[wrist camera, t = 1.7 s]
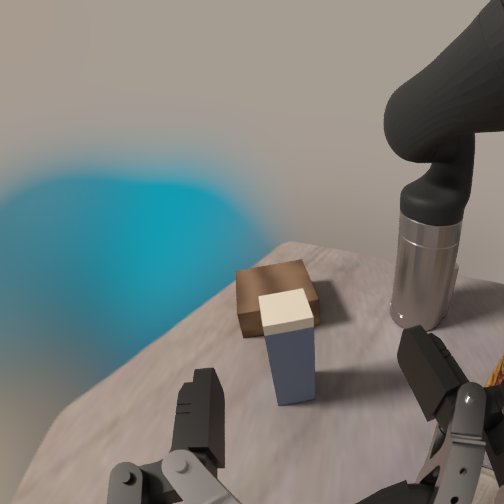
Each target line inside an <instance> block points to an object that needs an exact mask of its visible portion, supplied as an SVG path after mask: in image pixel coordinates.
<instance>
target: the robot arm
mask: <svg viewBox="0 0 504 504" xmlns="http://www.w3.org/2000/svg"><path fill="white" fill-rule="evenodd" d="M498 131H499V132H500V131H504V0H491V1H490V2H489V3H488V4H487V5H486V6H485V7H484V8H483V9H482V11H481V12H480V13H479V14H478V15H477V17H476V18H475V19H474V20H473V22H472V23H471V24H470V25H469V26H468V27H467V28H466V29H465V30H464V31H463V32H462V33H461V34H460V35H459V36H458V37H457V38H456V39H455V40H454V41H453V42H452V43H451V44H450V45H449V46H448V47H447V48H446V49H445V50H444V51H443V52H442V53H441V54H440V55H439V56H438V57H437V58H436V59H435V60H434V61H432V62H431V63H430V64H429V65H428V66H427V67H426V68H424V69H423V70H422V71H421V72H419V73H418V74H416V75H415V76H414V77H413V78H411V79H410V80H408V81H407V82H405V83H404V84H403V85H401V86H400V87H399V88H398V89H397V90H396V91H395V92H394V93H393V94H392V95H391V97H390V99H389V101H388V103H387V106H386V109H385V113H384V132H385V136H386V139H387V141H388V144H389V145H390V147H391V148H392V150H393V151H394V152H395V153H396V154H397V155H398V156H399V157H401V158H402V159H404V160H407V161H411V162H415V163H432V165H431V167H430V169H429V170H428V171H427V172H426V173H425V175H423V176H422V177H421V178H419V179H417V180H416V181H414V182H412V183H410V184H408V185H406V186H405V187H404V188H403V190H402V191H401V197H400V219H399V237H398V249H397V260H396V269H395V278H394V286H393V293H392V300H391V307H390V314H391V317H392V319H393V320H394V321H395V323H397V324H398V325H399V326H401V327H402V328H404V330H403V332H402V336H401V341H400V345H399V349H398V353H397V359H398V363H399V366H400V368H401V369H402V371H403V373H404V375H405V377H406V379H407V381H408V383H409V385H410V387H411V389H412V391H413V393H414V395H415V397H416V399H417V401H418V403H419V405H420V407H421V409H422V411H423V413H424V415H425V417H426V420H427V422H428V421H430V420H433V419H435V418H436V420H437V422H438V423H437V425H436V428H435V432H434V436H433V439H432V443H431V446H430V449H429V453H428V456H427V459H426V462H425V464H424V466H423V467H422V469H421V471H420V473H419V475H418V477H417V479H416V482H415V483H413V484H407V481H406V480H405V481H402V482H400V483H397V484H395V485H392V486H389V487H387V488H384V489H381V490H379V491H378V492H376V493H374V494H372V495H371V496H369V497H367V498H365V499H364V500H362V501H360V502H358V503H356V504H472V502H473V499H474V495H475V492H476V488H477V485H478V481H479V477H480V473H481V469H482V464H483V459H484V454H485V450H486V452H487V455H488V458H489V460H490V463H491V466H492V468H493V471H494V474H495V477H496V480H497V483H498V486H499V490H498V492H497V495H496V497H495V499H494V504H504V379H503V380H502V382H501V383H500V385H495V386H490V387H482V386H481V385H479V384H477V383H474V382H469V380H468V379H467V378H466V376H465V375H464V373H463V371H462V370H461V368H460V367H459V365H458V364H457V362H456V361H455V359H454V358H453V356H451V353H450V352H449V350H448V349H446V346H445V345H444V343H443V342H442V340H441V339H440V338H438V337H437V336H435V335H434V334H433V333H429V334H427V332H426V331H428V330H431V329H433V328H434V327H436V326H437V325H438V324H439V322H440V320H441V319H442V318H443V317H445V316H446V314H447V311H448V308H449V304H450V301H451V297H452V293H453V290H454V286H455V282H456V278H457V274H458V268H459V267H458V265H457V264H456V257H457V253H458V247H459V241H460V235H461V228H462V221H463V214H464V209H465V206H466V204H467V202H468V200H469V197H470V193H471V186H472V176H473V167H474V154H475V133H480V132H498ZM217 468H225V399H224V392H223V388H222V386H221V384H220V381H219V379H218V376H217V374H216V372H215V369H214V368H203V369H195V371H194V377H193V382H188V383H184V385H183V386H182V388H181V390H180V391H179V393H178V400H177V407H176V415H175V423H174V431H173V439H172V447H171V450H170V452H169V453H168V454H167V455H166V456H165V458H164V459H162V460H160V461H158V462H155V463H151V464H147V465H142V466H136V465H135V464H133V463H130V462H122V463H119V464H117V465H116V466H115V467H114V468H113V469H112V471H111V473H110V479H109V488H108V497H107V504H172V503H177V502H181V501H184V502H185V503H186V504H242V503H241V502H240V501H239V500H238V499H237V498H236V497H235V496H234V495H233V494H232V493H231V492H230V491H229V490H228V489H227V488H226V487H225V486H224V485H223V484H222V483H221V482H220V481H219V480H218V479H217Z"/></svg>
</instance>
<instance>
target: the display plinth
mask: <svg viewBox="0 0 504 504" xmlns="http://www.w3.org/2000/svg"><path fill="white" fill-rule="evenodd" d="M301 288H303V290H304V292H305V295H306V298H307V301H308V303H309V306H310V309H311V311H312V314H313V317H314V325H318V324H320V321H319V298H318V296H317V294H316V291H315V289H314V287H313V284H312V282H311V280H310V277H309V275H308V273H307V270H306V268H305V266H304V264H303V261H302V259H301V260H296V261H290V262H285V263H279V264H274V265H268V266H262V267H257V268H251V269H245V270H240V271H236V296H237V315H238V319H239V323H240V327H241V331H242V334H243V338H247V337H253V336H259V335H264V331H263V325H262V318H261V311H260V304H259V297H258V296H263V295H269V294H274V293H280V292H285V291H291V290H296V289H301Z"/></svg>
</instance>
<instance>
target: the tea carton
mask: <svg viewBox="0 0 504 504" xmlns="http://www.w3.org/2000/svg"><path fill="white" fill-rule="evenodd" d="M258 297H259V304H260V311H261V318H262V325H263V331H264V336H265V341H266V346H267V351H268V357H269V362H270V367H271V372H272V377H273V382H274V387H275V392H276V397H277V402H278V406H280V405H286V404H292V403H297V402H302V401H307V400H312V399H315V345H314V317H313V314H312V311H311V309H310V306H309V303H308V301H307V298H306V295H305V292H304V290H303V288H301V289H296V290H291V291H285V292H280V293H274V294H269V295H263V296H258Z"/></svg>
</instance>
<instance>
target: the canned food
mask: <svg viewBox="0 0 504 504" xmlns="http://www.w3.org/2000/svg"><path fill="white" fill-rule="evenodd" d="M503 379H504V355H503V356H502V358H501V360H500V362H499V363H498V365H497V367H496V368H495V370H494V372H493V373H492V375H491V377H490V378H489V380H488V381H487V383H486V385H485V387H490V386H495V385H500V383H501V382H502V380H503Z"/></svg>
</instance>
